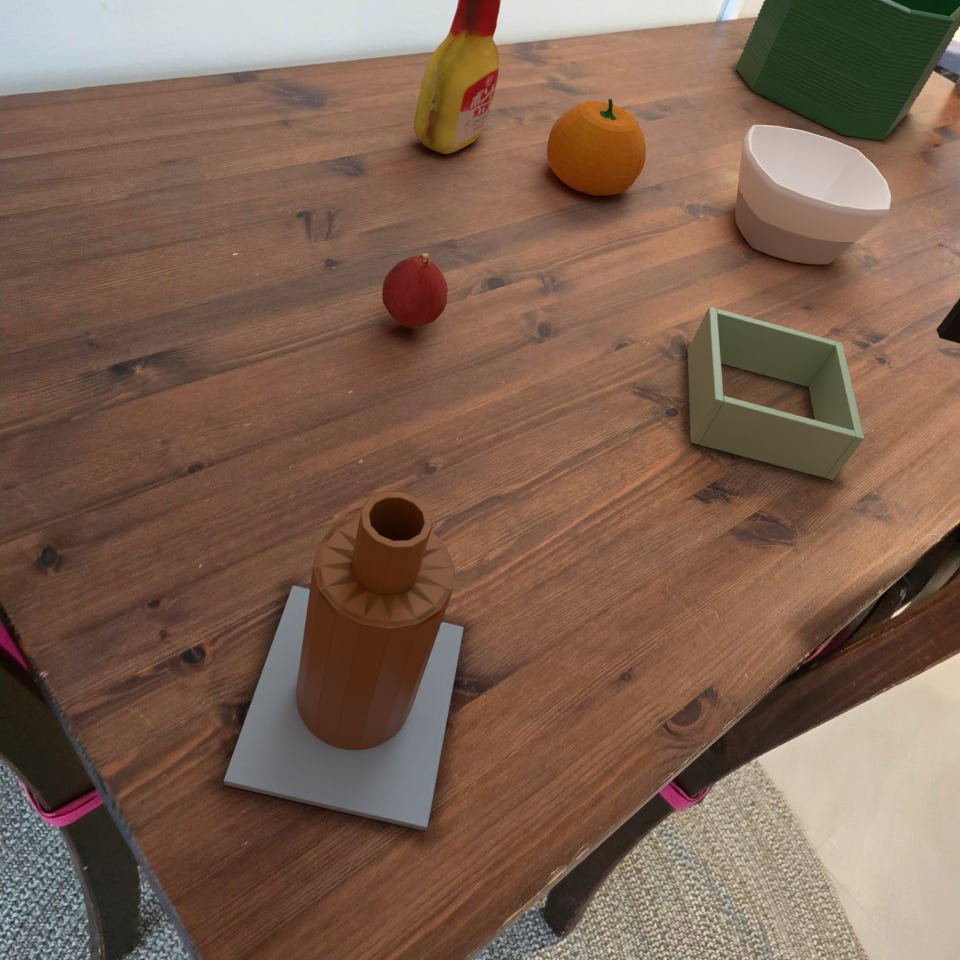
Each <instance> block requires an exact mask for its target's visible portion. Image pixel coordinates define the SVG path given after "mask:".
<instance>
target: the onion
mask: <svg viewBox="0 0 960 960" xmlns="http://www.w3.org/2000/svg"><path fill="white" fill-rule="evenodd" d="M448 292H449V287H448V283H447V281H446V279H445V276H444V274H443V272H442V271H441V269H440V268H439V267H438V266H437V265H436V264H435V263H434V262H433V261H431V260H430V256H429V253H427V252H423V253H420V254H419V255H414V256H413V255H412V256H410V257H408V258H404V259H402V260H400V261H398V262H397V263H396V264H395V265H394V266H393V267H392V268H391V269H390V270H389V271H388V272H387V274H386V276H385V277H384V280H383V283H382V291H381V297H382V299H381V300H382V303H383V305H384V307H385V309H386V311H387V312H388V314H389V315H390V316H391V317H392V318H393V319H394V320H395V321H396V322H398V323H399V324H401V325H403V326H404V327H405V328H407V329H414V328H421V327H425V326H427V325H430V324H432V323H435V321H436V320H437V319H438V318H439V317H440V316H441V315H442V313H443V312H445V309H446V306H447V304H448Z"/></svg>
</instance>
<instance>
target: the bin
mask: <svg viewBox="0 0 960 960" xmlns="http://www.w3.org/2000/svg"><path fill="white" fill-rule="evenodd" d="M686 350H687V374H688V375H687V377H688V378H687V379H688V403H689V404H688V405H689V406H688V407H689V408H688V409H689V430H690V431H689V432H690V433H689V434H690V435H689V436H690V443H691V444H695V445H699V446H700V447H701V446H702V447H705V448H710V449H712V450H717V451H721V452H724V453H728V454H731V455H736V456H739V457H742V458H747V459H751V460H754V461H759V462H763V463H766V464H770V465H774V466H776V467H777V466H778V467H781V468H785V469H789V470H793V471H796V472H800V473H804V474H807V475H811V476H816V477H819V478H823V479H827V480H829V481H833V480H834V479H835V477H836V476H837V475H838V474H839V473H840V471H841V470H842V469H843V467H844V466H846V463H847V462H848V461H849V460H850V458H851V457H852V456H853V454H854V453H855V452H856V450H858V448H859V446H861V444H862V443H863V442H864V440H865V435H864V432H863V431H864V430H863V428H862V423H861V418H860V414H859V409H858V405H857V401H856V396H855V392H854V389H853V388H854V387H853V384H852V378H851V375H850V370H849V366H848V361H847V358H846V354H845V349H844V343H842V342H839V341H836V340H834V339H830V338H827V337H823V336H819V335H815V334H811V333H808V332H804V331H801V330H797V329H794V328H789V327H785V326H782V325H778V324H775V323H772V322H767V321H764V320H761V319H757V318H754V317H750V316H746V315H743V314H739V313H735V312H732V311H728V310H724V309H721V308H717V307H712V306H709V307H708V308H707V310H706V312H705V314H704V316H703V318H702V320H701V322H700V324H699V326H698V328H697V329H696V331H695V334H694V336H693V338H692V339H691V342H690V343H689V346H688V348H687V349H686ZM722 365H725V366H729V367H733V368H736V369H740V370H744V371H748V372H750V373H754V374H759V375H762V376H766V377H769V378H773V379H776V380H780V381H785V382H788V383H791V384H796V385H799V386H803V387H807V388H808V392H809V397H810V403H811V406H812V407H811V409H812V413H813V418H808V417H804V416H800V415H797V414H793V413H789V412H787V411H786V412H785V411H782V410H778V409H775V408H771V407H768V406H763V405H760V404H756V403H753V402H748V401H745V400H741V399H737V398H734V397H731V396H730V397H729V396H727V395H724V389H723V388H724V385H723V374H722V373H723V371H722Z"/></svg>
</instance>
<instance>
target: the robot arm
mask: <svg viewBox="0 0 960 960" xmlns="http://www.w3.org/2000/svg"><path fill="white" fill-rule="evenodd" d="M936 333H937V335H938V338H939V339H941V340H945V341H948V342H953V343H956V344H959V345H960V297H959V298H958V300H957V301H956V302H955V303H954V305H953V306H952V308H951V309H950V310H949V312H948V313H947V314H946V315H945V317H944V318H943V320H942V321H941V323H939V325H938V326H937V328H936Z"/></svg>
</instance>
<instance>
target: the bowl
mask: <svg viewBox="0 0 960 960" xmlns="http://www.w3.org/2000/svg"><path fill="white" fill-rule="evenodd" d="M739 162H740V163H739V172H738V183H737V184H738V185H737V192H736V200H735V208H734V217H735V225H736V226H737V228H738V229H739V231H740V233H741V236H742V237H743V238H744V239H745V240H746V242H747V243H748V245H749V246H750V247H751V248H752V249H753V250H755V251H758V252H761V253H763V254H765V255H768V256H771V257H775V258H778V259H781V260H785V261H788V262H791V263H798V264H799V263H800V264H807V265H830V264H831V263H832V262H833V261H834V260H835V259H837V257H840V255H842V254H843V253H844V252H845V251H847V249H848V248H850V247H851V246H853V244H855V243H856V242H858V241H860V239H861V238H863V237H865V235H867V234H868V233H869V232H870V231H871V230H873V229H874V228H875V227H877V226H878V225H879V224H880V223H881V222H882V221H883V220H884V221H885V219H886V218H887V217H888V216H889V214H890V210H891V203H892V194H891V191H890V188H889V185H888V182H887V180H886V178H885V177H884V176H883V175H882V174H881V172H880V171H879V169H878V168H877V167H876V166H875V164H874V163H873V162H872V161H870V160H869V159H868V158H867V156H865V155H864V154H863V153H862V152H861V151H860V150H858V149H857V148H855V147H852V146H850V145H847V144H845V143H843V142H840V141H837V140H835V139H832V138H829V137H826V136H822V135H819V134H816V133H812V132H810V131H806V130H802V129H797V128H790V127H787V126H786V127H785V126H780V125H769V124H768V125H767V124H753V125H752V126H751V127H749V129H748V130H747V132H746V134H745V136H744V138H743V141H742V146H741V155H740V161H739Z"/></svg>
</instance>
